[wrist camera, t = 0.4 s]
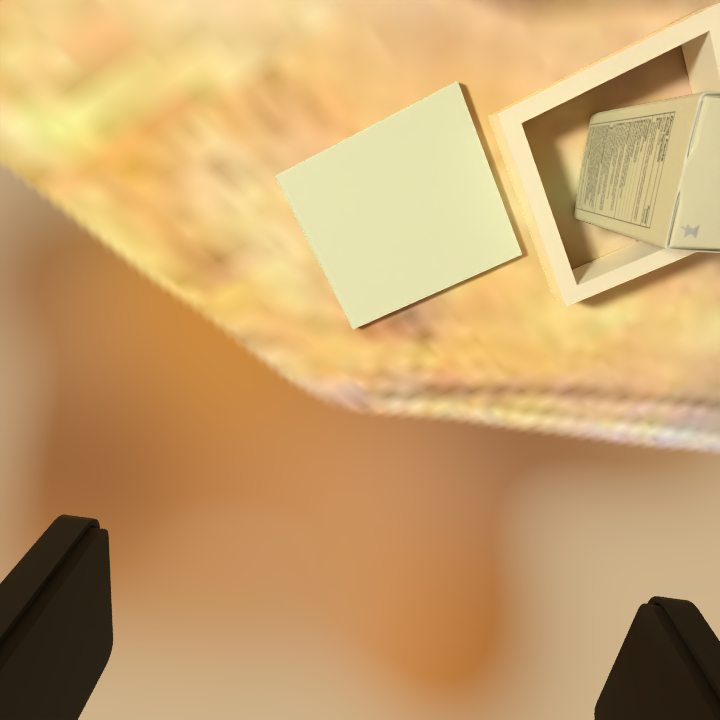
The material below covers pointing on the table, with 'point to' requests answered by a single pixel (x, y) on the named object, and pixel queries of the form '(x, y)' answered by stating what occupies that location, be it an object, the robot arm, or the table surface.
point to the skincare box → (655, 172)
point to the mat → (402, 208)
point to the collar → (704, 66)
